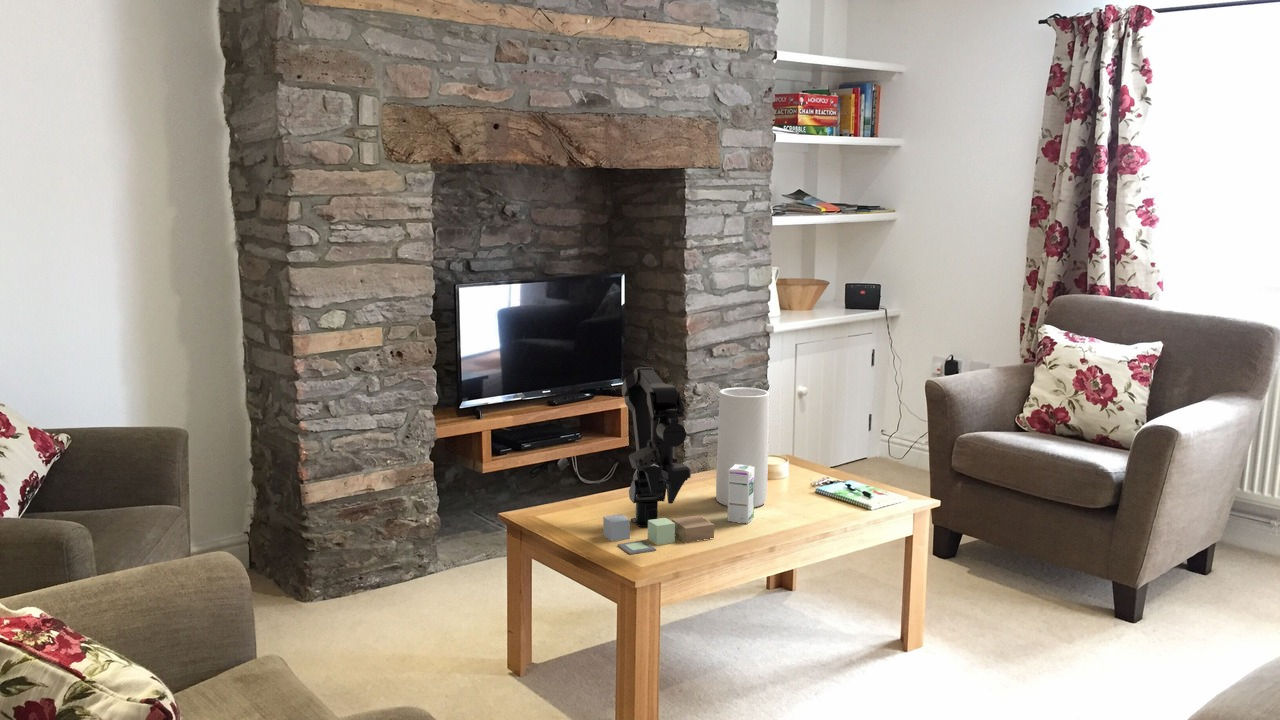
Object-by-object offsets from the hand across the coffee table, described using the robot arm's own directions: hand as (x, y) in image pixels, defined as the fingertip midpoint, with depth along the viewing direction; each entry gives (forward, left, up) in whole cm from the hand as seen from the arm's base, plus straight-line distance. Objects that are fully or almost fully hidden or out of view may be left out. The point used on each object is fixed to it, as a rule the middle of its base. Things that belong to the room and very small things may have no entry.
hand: (661, 498), depth 256 cm
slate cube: (-7, -9, -11) cm, 16 cm away
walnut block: (0, +9, -11) cm, 14 cm away
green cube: (0, 0, -11) cm, 11 cm away
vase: (-20, +36, -11) cm, 43 cm away
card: (+3, -8, -11) cm, 14 cm away
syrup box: (-6, +27, -11) cm, 30 cm away
